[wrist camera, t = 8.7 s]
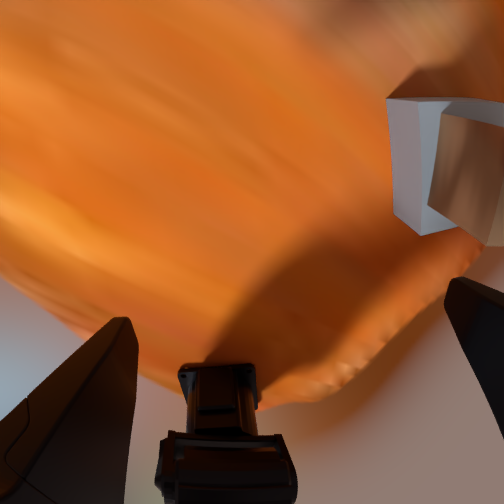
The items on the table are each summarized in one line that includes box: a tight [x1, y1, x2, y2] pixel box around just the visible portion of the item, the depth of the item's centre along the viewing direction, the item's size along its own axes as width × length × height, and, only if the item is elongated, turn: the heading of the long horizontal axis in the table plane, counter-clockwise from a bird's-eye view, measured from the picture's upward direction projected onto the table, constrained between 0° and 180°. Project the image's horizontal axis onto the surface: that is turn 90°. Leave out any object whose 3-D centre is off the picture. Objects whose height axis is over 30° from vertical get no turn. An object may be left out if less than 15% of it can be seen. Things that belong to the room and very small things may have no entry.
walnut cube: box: [427, 113, 504, 246], centre depth 13 cm, size 6×6×6 cm
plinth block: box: [386, 97, 504, 236], centre depth 18 cm, size 8×8×4 cm
